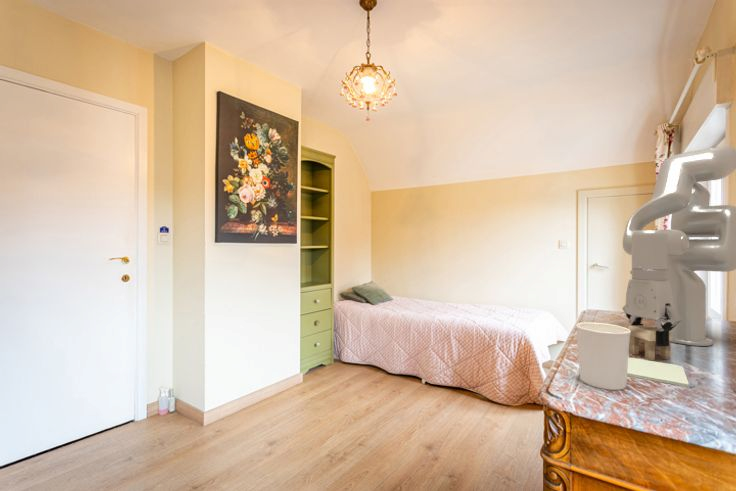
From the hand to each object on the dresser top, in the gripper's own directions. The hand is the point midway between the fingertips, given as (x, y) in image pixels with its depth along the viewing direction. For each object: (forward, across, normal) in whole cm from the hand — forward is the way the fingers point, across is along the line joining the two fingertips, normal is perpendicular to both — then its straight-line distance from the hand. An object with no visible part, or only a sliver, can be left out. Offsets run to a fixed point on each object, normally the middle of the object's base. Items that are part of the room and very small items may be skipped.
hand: (649, 341), depth 92 cm
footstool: (+4, 0, 0) cm, 4 cm away
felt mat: (+4, +10, -10) cm, 15 cm away
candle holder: (+4, +14, -27) cm, 31 cm away
